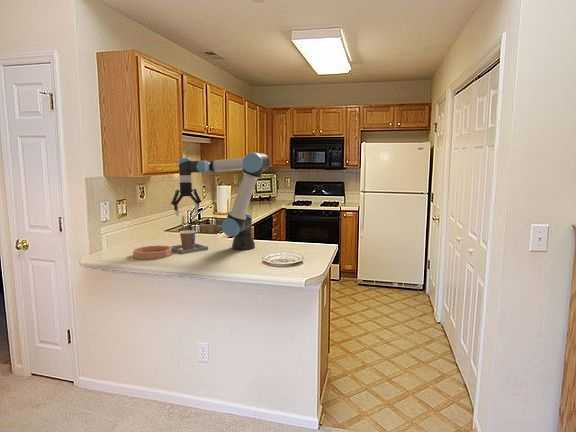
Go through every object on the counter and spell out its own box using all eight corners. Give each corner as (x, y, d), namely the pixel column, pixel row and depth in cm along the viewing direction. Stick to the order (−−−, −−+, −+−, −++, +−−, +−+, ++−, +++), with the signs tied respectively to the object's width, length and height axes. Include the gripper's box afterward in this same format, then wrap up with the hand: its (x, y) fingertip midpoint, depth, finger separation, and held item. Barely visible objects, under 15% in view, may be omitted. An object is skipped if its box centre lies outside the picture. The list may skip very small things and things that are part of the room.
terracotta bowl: (178, 255, 242) (177, 249, 242) (143, 261, 227) (142, 254, 227) (162, 250, 258) (161, 244, 258) (128, 255, 243) (127, 249, 243)
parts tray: (208, 249, 258) (208, 246, 258) (182, 254, 246) (182, 250, 246) (193, 245, 272) (193, 242, 271) (168, 249, 259) (168, 246, 259)
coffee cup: (192, 251, 253) (191, 233, 251) (177, 251, 255) (176, 232, 253) (199, 248, 263) (198, 230, 261) (184, 247, 265) (183, 230, 263)
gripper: (200, 181, 266) (201, 212, 269) (164, 182, 250) (166, 215, 253) (205, 181, 261) (206, 213, 263) (169, 182, 244) (171, 216, 247)
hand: (187, 214), depth 258 cm, fingers open, 13 cm apart
